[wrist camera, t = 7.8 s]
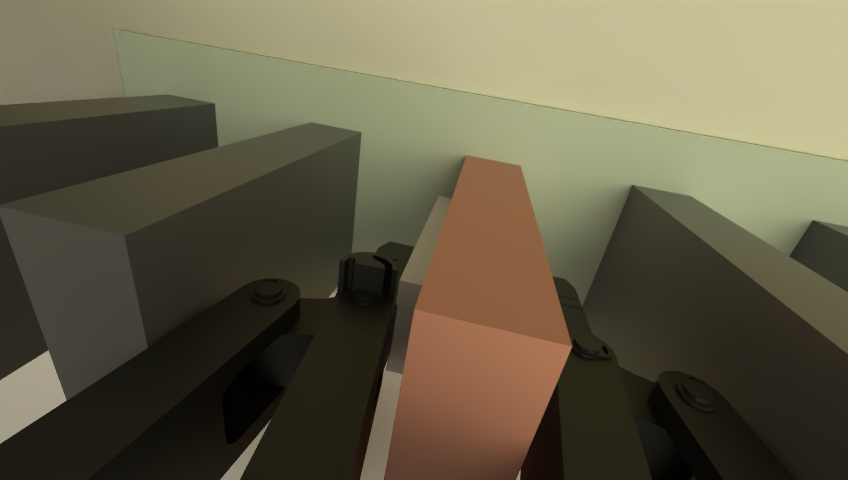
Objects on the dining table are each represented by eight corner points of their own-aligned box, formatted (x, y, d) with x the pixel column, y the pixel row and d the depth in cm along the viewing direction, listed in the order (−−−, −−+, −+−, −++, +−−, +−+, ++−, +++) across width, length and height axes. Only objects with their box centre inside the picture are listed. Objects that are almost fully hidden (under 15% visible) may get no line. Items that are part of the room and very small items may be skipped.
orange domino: (466, 155, 14) (414, 309, 5) (520, 165, 14) (572, 346, 5) (438, 290, 16) (370, 556, 7) (483, 300, 16) (470, 587, 7)
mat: (119, 29, 14) (112, 29, 14) (1087, 204, 11) (1101, 207, 11) (155, 238, 18) (150, 240, 18) (886, 408, 15) (893, 414, 15)
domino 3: (632, 184, 13) (942, 428, 4) (691, 196, 13) (1145, 475, 4) (576, 320, 16) (692, 652, 7) (624, 331, 16) (809, 686, 7)
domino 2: (311, 122, 14) (-3, 205, 5) (361, 132, 14) (123, 236, 5) (308, 258, 17) (93, 471, 8) (350, 268, 17) (180, 498, 8)
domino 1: (168, 94, 15) (-340, 127, 6) (214, 103, 15) (-235, 152, 6) (186, 230, 17) (-147, 400, 8) (226, 239, 17) (-70, 423, 8)
